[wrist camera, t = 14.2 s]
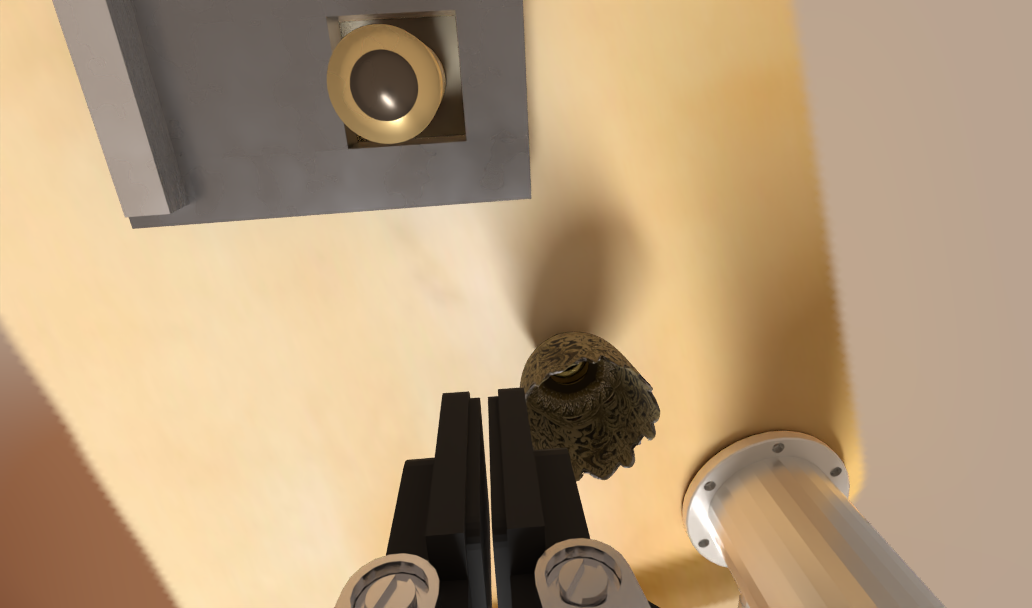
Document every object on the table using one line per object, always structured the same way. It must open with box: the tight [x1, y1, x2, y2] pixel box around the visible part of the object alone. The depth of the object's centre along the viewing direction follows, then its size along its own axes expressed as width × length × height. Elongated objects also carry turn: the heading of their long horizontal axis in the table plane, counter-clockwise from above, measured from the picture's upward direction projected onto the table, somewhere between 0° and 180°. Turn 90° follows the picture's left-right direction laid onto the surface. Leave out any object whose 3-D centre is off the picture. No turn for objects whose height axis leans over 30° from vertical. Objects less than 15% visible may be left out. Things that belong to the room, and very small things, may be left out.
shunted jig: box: [52, 0, 531, 229], centre depth 26 cm, size 16×20×5 cm
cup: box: [520, 332, 660, 481], centre depth 33 cm, size 8×7×8 cm
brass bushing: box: [327, 24, 446, 144], centre depth 25 cm, size 4×4×10 cm
